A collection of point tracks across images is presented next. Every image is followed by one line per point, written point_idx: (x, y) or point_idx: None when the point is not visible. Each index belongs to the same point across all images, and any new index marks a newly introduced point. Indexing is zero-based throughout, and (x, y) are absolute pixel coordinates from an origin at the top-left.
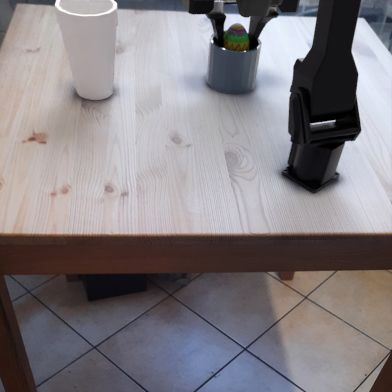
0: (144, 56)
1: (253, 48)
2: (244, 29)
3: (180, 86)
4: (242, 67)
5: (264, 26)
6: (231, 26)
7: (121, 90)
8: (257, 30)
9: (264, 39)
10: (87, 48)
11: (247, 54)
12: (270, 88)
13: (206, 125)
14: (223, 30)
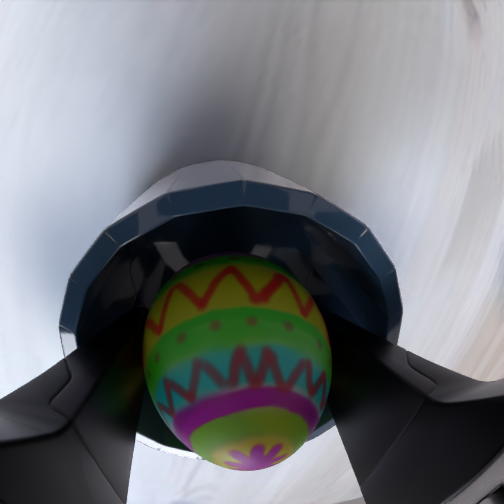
0: None
1: None
2: (196, 418)
3: (401, 258)
4: (234, 168)
5: (10, 395)
6: (303, 441)
7: (500, 256)
8: (74, 386)
9: None
10: None
11: (211, 181)
12: (72, 195)
13: (407, 14)
14: (404, 379)
